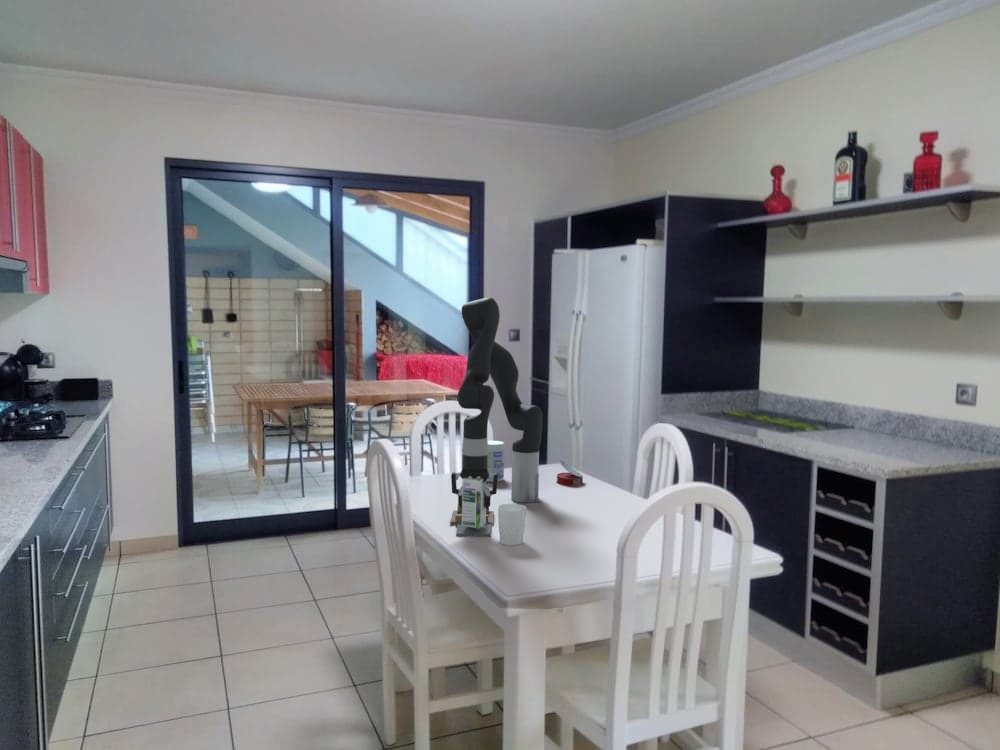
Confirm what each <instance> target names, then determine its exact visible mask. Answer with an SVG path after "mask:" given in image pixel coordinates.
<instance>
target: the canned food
mask: <svg viewBox="0 0 1000 750" xmlns="http://www.w3.org/2000/svg"><path fill="white" fill-rule="evenodd" d="M559 463H560V465H561V466H562V468H563V469H564V470H565V471H567V472H560V473H557V474H556V484H558V485H561V486H565V487H576V486H577V485H578V486H582V485H583V478H584V477H583V475H582V474H581V473H580V472H578V471H577V470H575V469H573V468H572V467H570V466H569V465H568V464H566V463H565V461H564V460H560V461H559ZM581 484H582V485H581Z"/></svg>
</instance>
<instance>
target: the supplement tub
mask: <svg viewBox="0 0 1000 750" xmlns="http://www.w3.org/2000/svg"><path fill="white" fill-rule="evenodd" d="M487 442H488V472H489V473H493V474H494V473H497V474H498V480H497V483H498V482H502V481H503V480H504V476H505V472H504V471H505V441H500V440H487ZM487 483H493V481H491V478H490V477H488V479H487Z"/></svg>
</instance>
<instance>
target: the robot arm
mask: <svg viewBox="0 0 1000 750" xmlns="http://www.w3.org/2000/svg"><path fill="white" fill-rule="evenodd" d="M461 317H462V319H463V323H464V325H465V326H466V329H467V331H468V332H469V334H470V335H471V337H472V339H473V341H474V343H473V345H472V347H471V348H470V349H469V350H470V351H469V352H468V355H467V359H466V371H465V376H464V379H463V381H462V383H461V385H460V387H459V390H458V393H457V403H458V405H459V406H460V407H461V408H462V409H469V410H481V411H480V413H479V414H476V415H474V416H468V417H465V419H464V420H463V432H462V433H463V434H462V435H463V439H462V445H461V446H462V447H461V456H462V457H461V471H460V472H455V471H452V473H451V476H450V478H451V493H452V494H455V495H457V501H458V502H457V506H458V505H459V506H460V508H462V488H463V486H462V485H461V486H460V488H458V487H457V481H458V480H459V478H461V479H462V480H463V478H467V479H472V478H477V479H481V478H483V481H482V489H483V490H484V492H485V494H486V509H488V507H489V508H490V506H491V497H492V496H493V495H497V492H498V491H497V489H498V482H497V480H498V474H497V473H494V474H493V473H489V472H488V442H487V441H488V422H489V417H490V412H491V409H492V407H493V403H494V400H495V392H494V389H493V387H492V386H490V385H488V384H485V383H486V382H488V380H489V379H490V378H491V380H492V382H493V384H494V386H495V389H496V391H497V393H498V395H499V398H500V401H501V403H502V407H503V410H504V413H505V416H506V419H507V421H508V424H509V425H510V427H511V428H512V429H514V430H517V431H523V434H522V438H520V439H518V440H514V441H513V442H512V444H511V445H512V447H511V448H512V450H511V451H512V452H511V455H512V456H511V457H512V459H511V493H510V495H511V500H512V501H513V502H516V503H524V504H525V503H534V502H539V487H540V486H539V485H540V484H539V481H540V479H539V478H540V477H539V476H540V475H539V474H540V473H539V471H540V470H539V468H540V466H539V465H540V446H541V442H542V433H543V424H544V423H543V421H544V420H543V419H544V418H543V417H544V416H543V411H542V408H540V407H539V406H538V405H533V404H527V403H526V404H525V403H523V402H522V400H521V399H520V397H519V395H518V392H517V386H518V382H519V378H520V377H519V375H520V374H519V369H518V366H517V364H516V362H515V359H514V357H513V355H512V353H511V352H510V351H509V350H508V349H506V348H505V347H504V346H502V345H501V344H500V343H498V342H497V341H495V339H496V335H497V332H498V327H499V323H500V308H499V305H498V303H497V301H496V300H495V299H494V298H493V297H484V298H479V299H476V300H473V301H468V302H466V303H464V304H462V306H461ZM488 477H490V478H491V481H493V482H492V489H490V488H489V487H488V484H486V485H485V484H484V482H485V481H486V480H487V479H488Z"/></svg>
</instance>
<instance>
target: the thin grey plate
mask: <svg viewBox="0 0 1000 750" xmlns="http://www.w3.org/2000/svg"><path fill="white" fill-rule="evenodd" d="M491 536H492V526H491V524H484V525H483V526H482V527H480V528H479V529H478V528H472V527H465V526H464V527H463V526H462V523H458V525H457V528H456V533H455V537H480V538H481V537H482V538H483V537H485V538H487V537H488V538H491Z"/></svg>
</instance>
